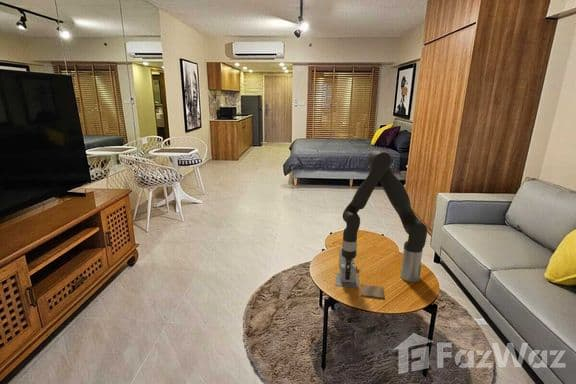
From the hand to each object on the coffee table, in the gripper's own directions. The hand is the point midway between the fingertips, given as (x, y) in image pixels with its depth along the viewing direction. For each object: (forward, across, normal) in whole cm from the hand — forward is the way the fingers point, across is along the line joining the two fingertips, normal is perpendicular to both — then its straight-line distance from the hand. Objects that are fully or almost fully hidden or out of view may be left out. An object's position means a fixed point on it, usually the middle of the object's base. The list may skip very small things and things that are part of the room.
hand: (347, 276), depth 165 cm
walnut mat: (+3, -8, -12) cm, 15 cm away
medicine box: (+3, 0, 0) cm, 3 cm away
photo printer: (+3, +18, +1) cm, 18 cm away
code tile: (+3, 0, 0) cm, 3 cm away
